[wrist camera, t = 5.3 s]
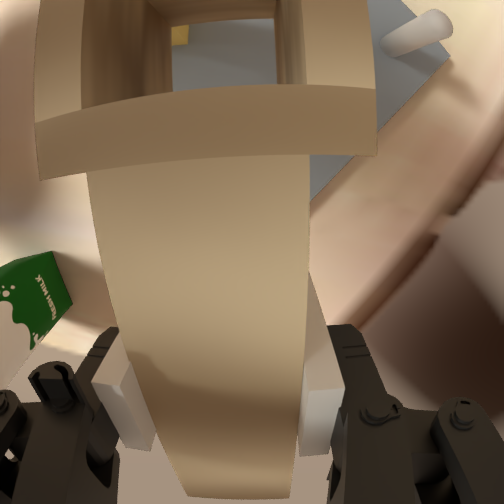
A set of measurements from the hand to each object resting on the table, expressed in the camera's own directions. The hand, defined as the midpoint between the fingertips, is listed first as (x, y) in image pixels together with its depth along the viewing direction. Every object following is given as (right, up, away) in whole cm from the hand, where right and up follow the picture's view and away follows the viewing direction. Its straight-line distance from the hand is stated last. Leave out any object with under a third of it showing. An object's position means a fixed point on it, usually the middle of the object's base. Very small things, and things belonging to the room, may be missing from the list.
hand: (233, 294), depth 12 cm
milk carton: (-25, -2, +20) cm, 32 cm away
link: (0, +3, 0) cm, 3 cm away
